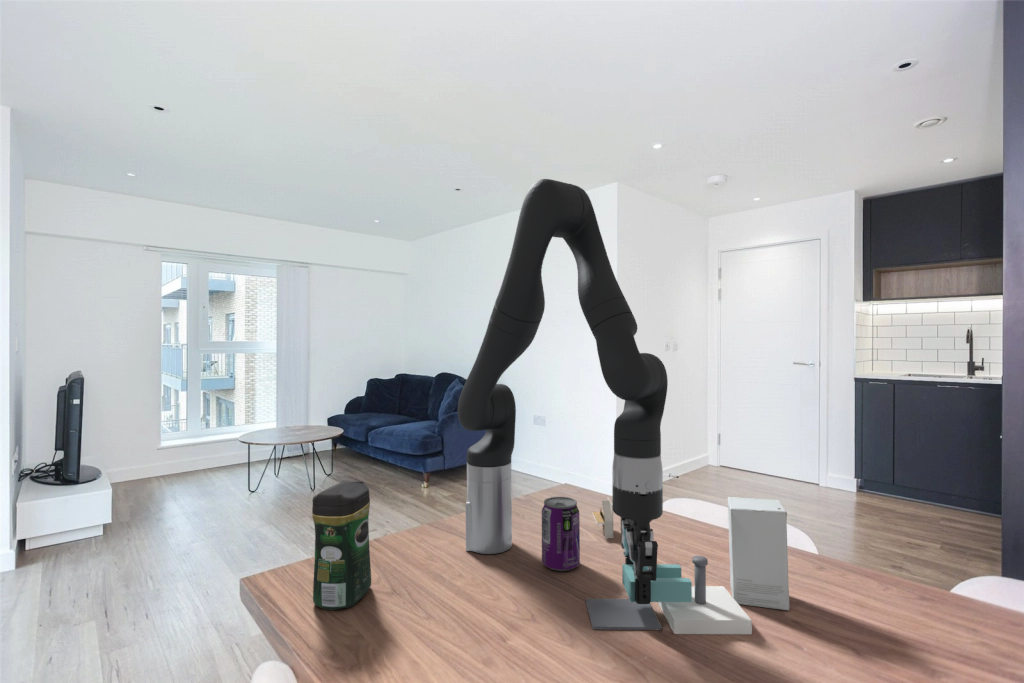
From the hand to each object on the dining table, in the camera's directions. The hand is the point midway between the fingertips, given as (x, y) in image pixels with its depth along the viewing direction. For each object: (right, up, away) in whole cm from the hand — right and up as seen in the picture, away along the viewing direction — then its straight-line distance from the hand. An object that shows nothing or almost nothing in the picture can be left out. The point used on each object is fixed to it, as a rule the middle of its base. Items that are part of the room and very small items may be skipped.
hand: (637, 591), depth 77 cm
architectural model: (+1, -4, +32) cm, 33 cm away
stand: (+9, -3, -1) cm, 10 cm away
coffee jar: (-47, -4, +6) cm, 48 cm away
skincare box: (+21, -4, +4) cm, 21 cm away
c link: (+3, 0, 0) cm, 3 cm away
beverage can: (-10, -4, +17) cm, 20 cm away
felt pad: (-3, -3, 0) cm, 4 cm away
